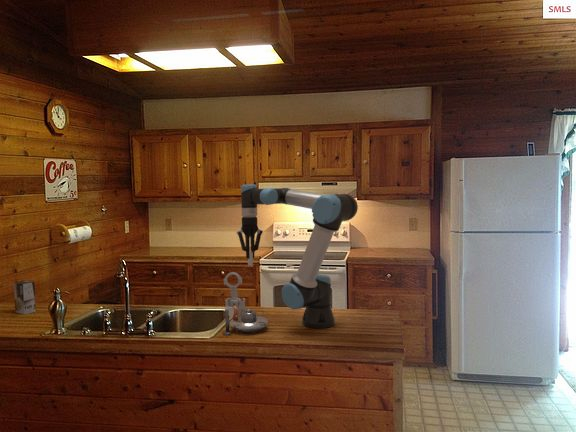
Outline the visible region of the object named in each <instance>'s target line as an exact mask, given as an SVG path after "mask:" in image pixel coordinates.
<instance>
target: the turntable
mask: <svg viewBox="0 0 576 432" xmlns="http://www.w3.org/2000/svg"><path fill="white" fill-rule="evenodd" d="M233 308H234V315H232V319H231V320H229V327H230V328H232V329H234V330H236V329H238V330H256V329H261V328H262V329H264V328H266V327H267V326H268V325H269V320H268V318H266V317H265V316H259V315H257V321H256V322H253V323H243V322H241V316H239V314H238V306H233Z"/></svg>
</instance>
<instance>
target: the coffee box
mask: <svg viewBox="0 0 576 432" xmlns="http://www.w3.org/2000/svg"><path fill="white" fill-rule="evenodd" d="M35 285H36V284H35V281H30V280H20V281H16V282H13V292H14V293H13V294H14V295H13V296H14V308H15V313H17V314H20V315H29V314H33V313H36V312H37V310H36V309H37V306H36V287H35Z"/></svg>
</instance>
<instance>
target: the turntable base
mask: <svg viewBox="0 0 576 432" xmlns="http://www.w3.org/2000/svg"><path fill="white" fill-rule="evenodd" d="M262 331H263V328H261V329H256V330H238V329H235V332H237V333H240V334H246V335H247V334H249V335H250V334H256V333H261V332H262Z"/></svg>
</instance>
